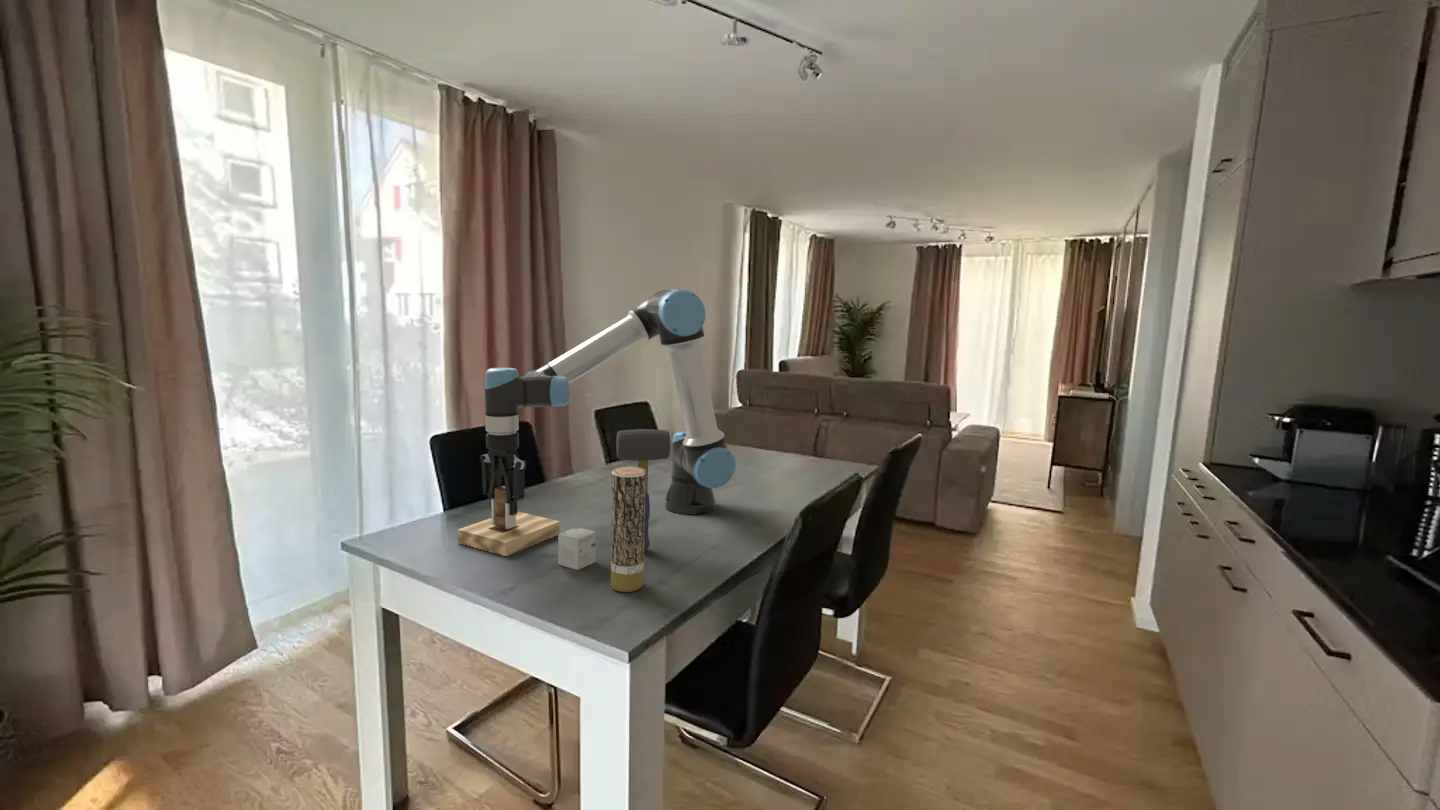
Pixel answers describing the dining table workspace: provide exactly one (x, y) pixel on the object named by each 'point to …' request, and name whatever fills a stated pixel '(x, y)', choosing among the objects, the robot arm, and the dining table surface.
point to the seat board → (509, 534)
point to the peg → (500, 507)
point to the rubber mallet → (643, 456)
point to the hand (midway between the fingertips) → (503, 525)
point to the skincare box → (576, 548)
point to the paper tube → (627, 528)
